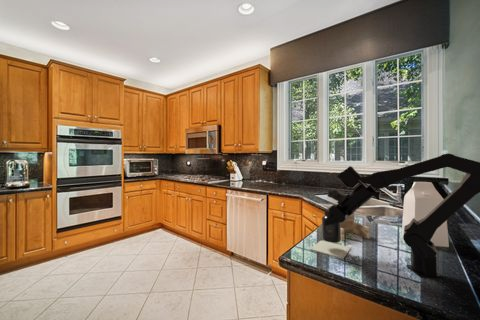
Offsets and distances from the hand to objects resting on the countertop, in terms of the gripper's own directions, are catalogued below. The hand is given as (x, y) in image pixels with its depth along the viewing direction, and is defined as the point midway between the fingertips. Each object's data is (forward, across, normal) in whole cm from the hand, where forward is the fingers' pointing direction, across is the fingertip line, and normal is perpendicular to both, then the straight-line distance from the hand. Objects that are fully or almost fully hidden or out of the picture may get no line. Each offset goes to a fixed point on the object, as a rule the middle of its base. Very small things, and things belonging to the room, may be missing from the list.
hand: (327, 222), depth 85 cm
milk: (-14, -36, +29) cm, 48 cm away
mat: (+7, 0, +8) cm, 10 cm away
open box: (+5, -21, +9) cm, 24 cm away
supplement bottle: (+4, 0, +6) cm, 7 cm away
